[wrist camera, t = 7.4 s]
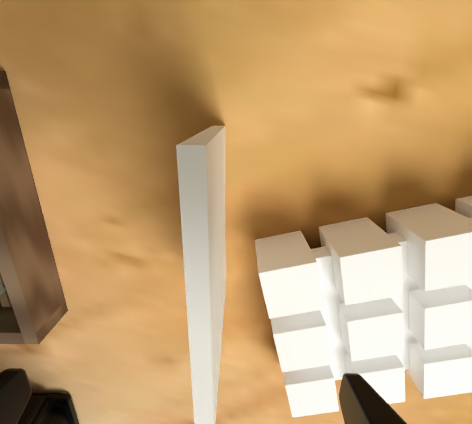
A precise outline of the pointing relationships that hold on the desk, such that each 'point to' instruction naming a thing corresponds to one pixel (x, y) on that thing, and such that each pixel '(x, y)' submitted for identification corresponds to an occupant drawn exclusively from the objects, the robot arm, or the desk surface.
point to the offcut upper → (2, 289)
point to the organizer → (373, 305)
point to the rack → (23, 241)
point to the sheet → (204, 259)
